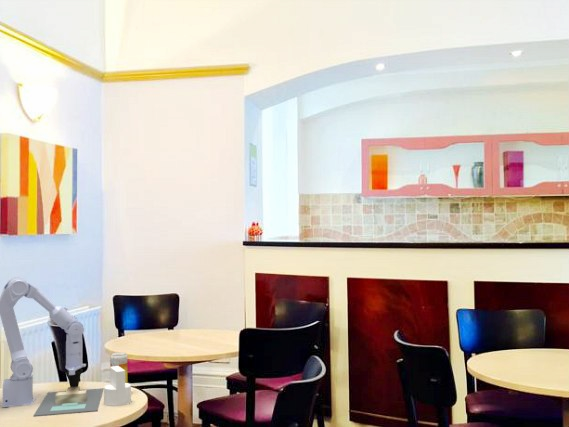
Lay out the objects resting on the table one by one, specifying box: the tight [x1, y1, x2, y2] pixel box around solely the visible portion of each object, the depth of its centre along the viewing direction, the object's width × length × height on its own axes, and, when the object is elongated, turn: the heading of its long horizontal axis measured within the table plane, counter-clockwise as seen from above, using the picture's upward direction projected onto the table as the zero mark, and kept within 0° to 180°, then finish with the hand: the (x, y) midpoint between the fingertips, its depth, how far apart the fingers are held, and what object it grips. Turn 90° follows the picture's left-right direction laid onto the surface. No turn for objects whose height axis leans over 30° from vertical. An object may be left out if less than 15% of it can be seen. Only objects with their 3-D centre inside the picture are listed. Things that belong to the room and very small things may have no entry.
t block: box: [55, 386, 87, 404], centre depth 205 cm, size 10×10×3 cm
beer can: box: [109, 351, 129, 383], centre depth 212 cm, size 6×6×15 cm
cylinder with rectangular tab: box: [103, 366, 132, 407], centre depth 201 cm, size 9×9×12 cm
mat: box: [33, 387, 104, 418], centre depth 203 cm, size 20×28×1 cm
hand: (74, 390), depth 211 cm, fingers closed
